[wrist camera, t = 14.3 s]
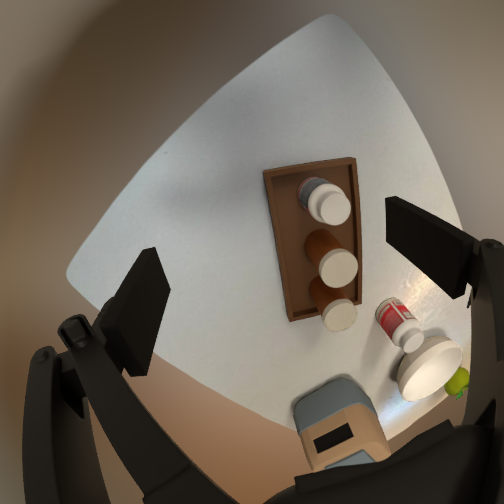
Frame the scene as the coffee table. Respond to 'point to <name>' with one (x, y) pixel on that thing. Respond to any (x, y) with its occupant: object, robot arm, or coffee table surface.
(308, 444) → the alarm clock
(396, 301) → the pill bottle
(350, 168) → the tray
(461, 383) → the fruit
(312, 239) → the amber bottle middle
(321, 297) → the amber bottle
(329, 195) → the pill bottle
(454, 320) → the coffee table surface
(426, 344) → the bowl
